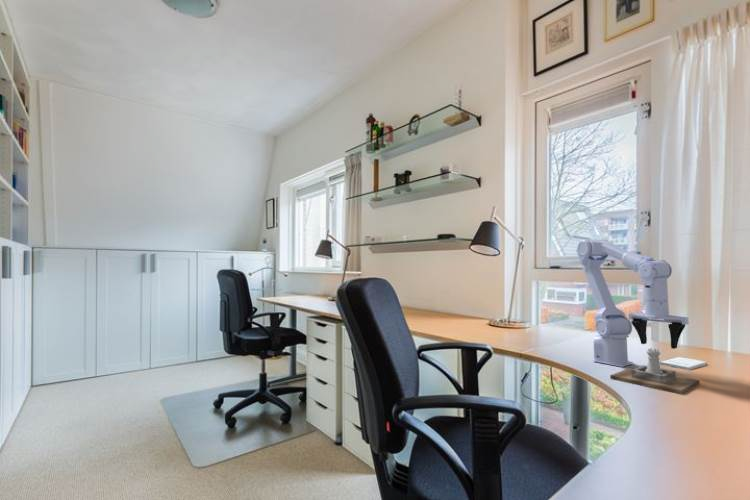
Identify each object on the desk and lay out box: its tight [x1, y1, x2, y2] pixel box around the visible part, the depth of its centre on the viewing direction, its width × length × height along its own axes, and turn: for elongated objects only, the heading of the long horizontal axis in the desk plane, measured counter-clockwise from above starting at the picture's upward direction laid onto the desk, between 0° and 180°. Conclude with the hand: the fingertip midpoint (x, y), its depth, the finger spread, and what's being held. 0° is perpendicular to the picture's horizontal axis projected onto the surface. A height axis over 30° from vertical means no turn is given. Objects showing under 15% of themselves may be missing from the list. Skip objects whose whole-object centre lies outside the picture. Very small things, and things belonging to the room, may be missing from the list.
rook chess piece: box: [645, 348, 664, 375], centre depth 107 cm, size 4×4×8 cm
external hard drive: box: [659, 356, 708, 371], centre depth 123 cm, size 2×8×12 cm
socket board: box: [609, 365, 701, 395], centre depth 107 cm, size 17×14×3 cm
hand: (658, 345), depth 111 cm, fingers open, 7 cm apart
